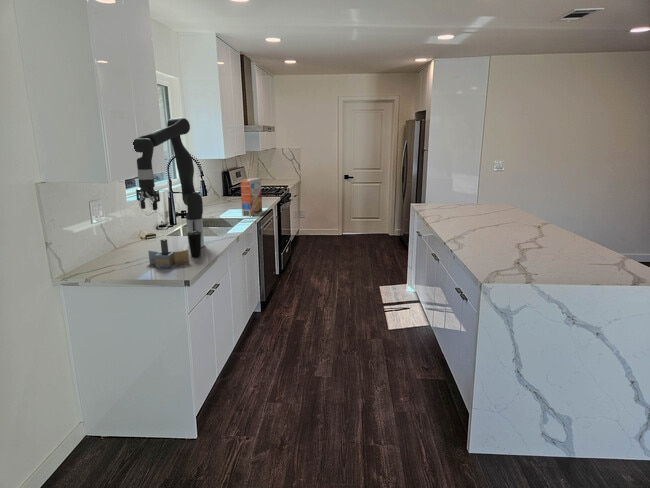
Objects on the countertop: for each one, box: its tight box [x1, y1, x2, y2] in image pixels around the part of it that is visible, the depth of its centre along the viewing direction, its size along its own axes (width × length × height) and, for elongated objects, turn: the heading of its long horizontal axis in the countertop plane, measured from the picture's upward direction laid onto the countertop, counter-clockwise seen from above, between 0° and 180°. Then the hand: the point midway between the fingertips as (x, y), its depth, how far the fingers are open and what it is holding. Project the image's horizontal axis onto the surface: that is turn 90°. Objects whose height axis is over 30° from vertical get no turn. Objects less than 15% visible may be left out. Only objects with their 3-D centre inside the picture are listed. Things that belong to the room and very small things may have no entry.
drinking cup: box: [186, 221, 202, 259], centre depth 234 cm, size 8×8×20 cm
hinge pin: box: [159, 238, 169, 255], centre depth 217 cm, size 3×3×14 cm
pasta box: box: [240, 177, 263, 218], centre depth 361 cm, size 23×8×30 cm, turn 165°
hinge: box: [147, 249, 190, 270], centre depth 220 cm, size 11×20×7 cm, turn 84°
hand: (149, 209), depth 222 cm, fingers open, 8 cm apart
